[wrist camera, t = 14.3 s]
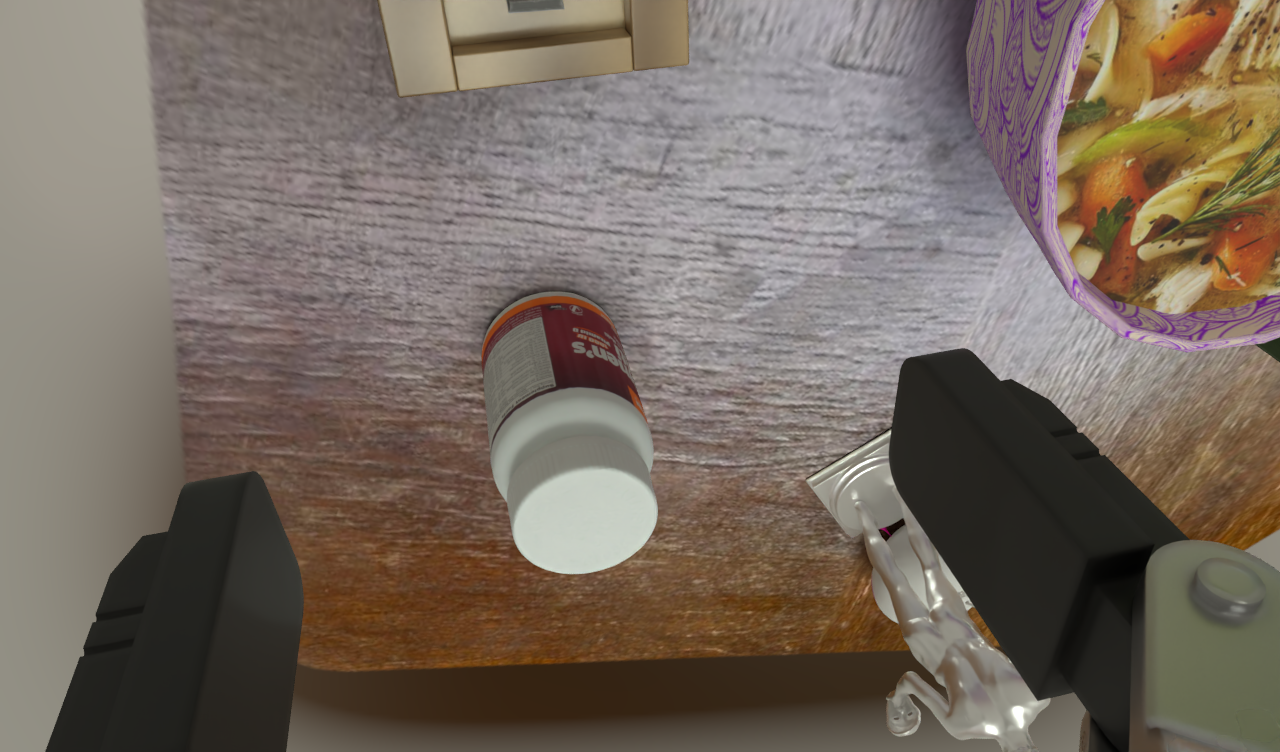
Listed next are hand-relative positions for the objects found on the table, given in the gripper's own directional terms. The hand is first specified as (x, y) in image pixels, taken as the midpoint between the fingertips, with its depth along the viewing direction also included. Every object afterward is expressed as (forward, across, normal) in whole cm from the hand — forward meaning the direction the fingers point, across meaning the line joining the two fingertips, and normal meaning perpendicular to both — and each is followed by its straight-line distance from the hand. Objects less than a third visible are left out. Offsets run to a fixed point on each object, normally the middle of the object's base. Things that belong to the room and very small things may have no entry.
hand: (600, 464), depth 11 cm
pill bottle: (+25, -1, +14) cm, 29 cm away
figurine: (+25, -17, +27) cm, 40 cm away
